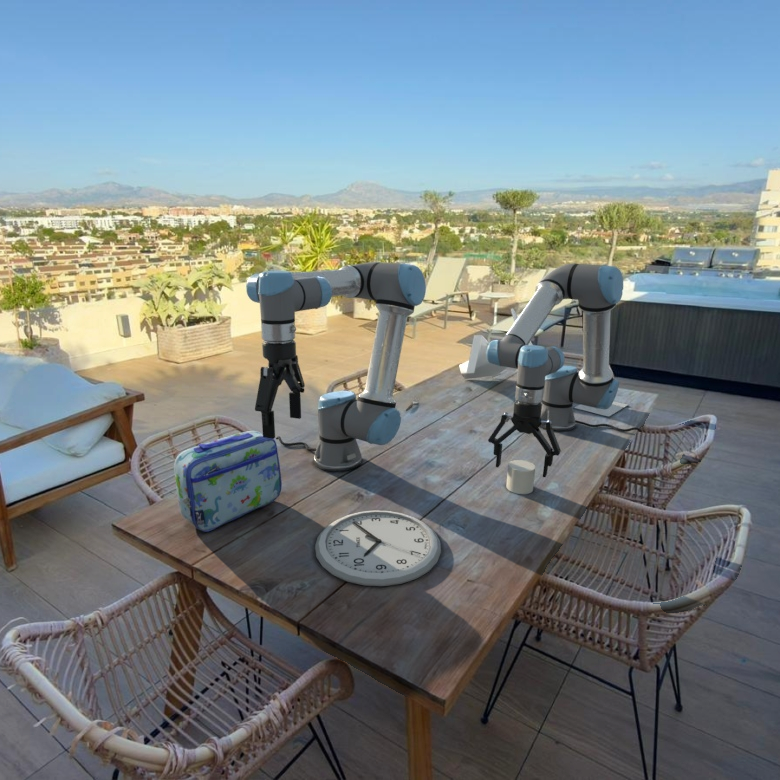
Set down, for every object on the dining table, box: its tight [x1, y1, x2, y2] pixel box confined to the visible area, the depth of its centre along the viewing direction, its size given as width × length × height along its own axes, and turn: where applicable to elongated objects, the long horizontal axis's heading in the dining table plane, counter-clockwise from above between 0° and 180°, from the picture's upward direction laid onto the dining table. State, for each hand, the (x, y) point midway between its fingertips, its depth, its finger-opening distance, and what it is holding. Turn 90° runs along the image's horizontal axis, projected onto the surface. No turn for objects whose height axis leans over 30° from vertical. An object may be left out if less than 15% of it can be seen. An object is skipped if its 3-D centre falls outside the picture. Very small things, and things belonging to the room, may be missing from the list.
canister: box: [505, 459, 536, 495], centre depth 153 cm, size 8×8×7 cm
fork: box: [405, 396, 421, 411], centre depth 222 cm, size 3×16×2 cm, turn 160°
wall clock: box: [314, 509, 442, 587], centre depth 125 cm, size 30×2×30 cm
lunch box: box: [173, 430, 283, 533], centre depth 135 cm, size 26×11×21 cm, turn 134°
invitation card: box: [573, 400, 629, 418], centre depth 226 cm, size 21×1×15 cm
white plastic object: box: [458, 307, 534, 380], centre depth 255 cm, size 37×45×31 cm
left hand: (283, 427), depth 126 cm, fingers open, 13 cm apart
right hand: (521, 470), depth 152 cm, fingers open, 13 cm apart
